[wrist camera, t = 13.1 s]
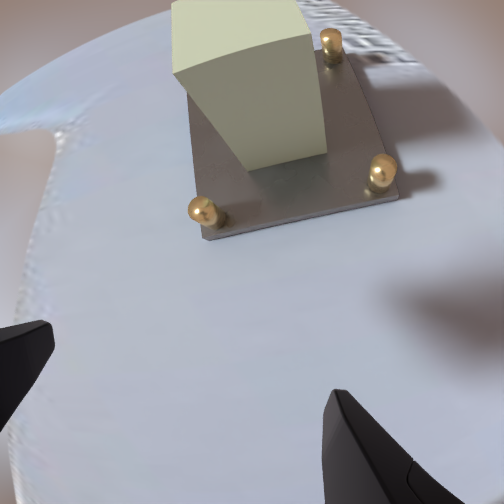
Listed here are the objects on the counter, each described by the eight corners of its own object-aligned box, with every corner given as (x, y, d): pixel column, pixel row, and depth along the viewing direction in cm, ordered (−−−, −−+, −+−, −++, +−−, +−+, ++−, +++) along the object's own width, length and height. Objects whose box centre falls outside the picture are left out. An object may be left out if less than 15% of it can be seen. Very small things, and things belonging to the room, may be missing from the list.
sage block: (327, 152, 18) (311, 33, 9) (247, 171, 19) (172, 73, 10) (307, 89, 19) (278, -30, 10) (235, 107, 20) (171, 3, 11)
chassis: (342, 54, 20) (340, 23, 17) (396, 200, 18) (407, 180, 15) (191, 93, 23) (172, 69, 20) (208, 240, 21) (185, 230, 17)
